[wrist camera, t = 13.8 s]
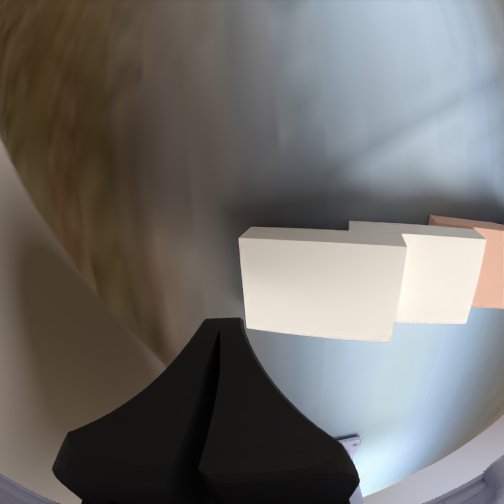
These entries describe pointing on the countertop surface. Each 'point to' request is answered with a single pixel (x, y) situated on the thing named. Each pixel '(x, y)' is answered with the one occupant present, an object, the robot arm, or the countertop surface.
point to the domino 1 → (322, 281)
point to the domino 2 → (435, 270)
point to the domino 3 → (484, 259)
